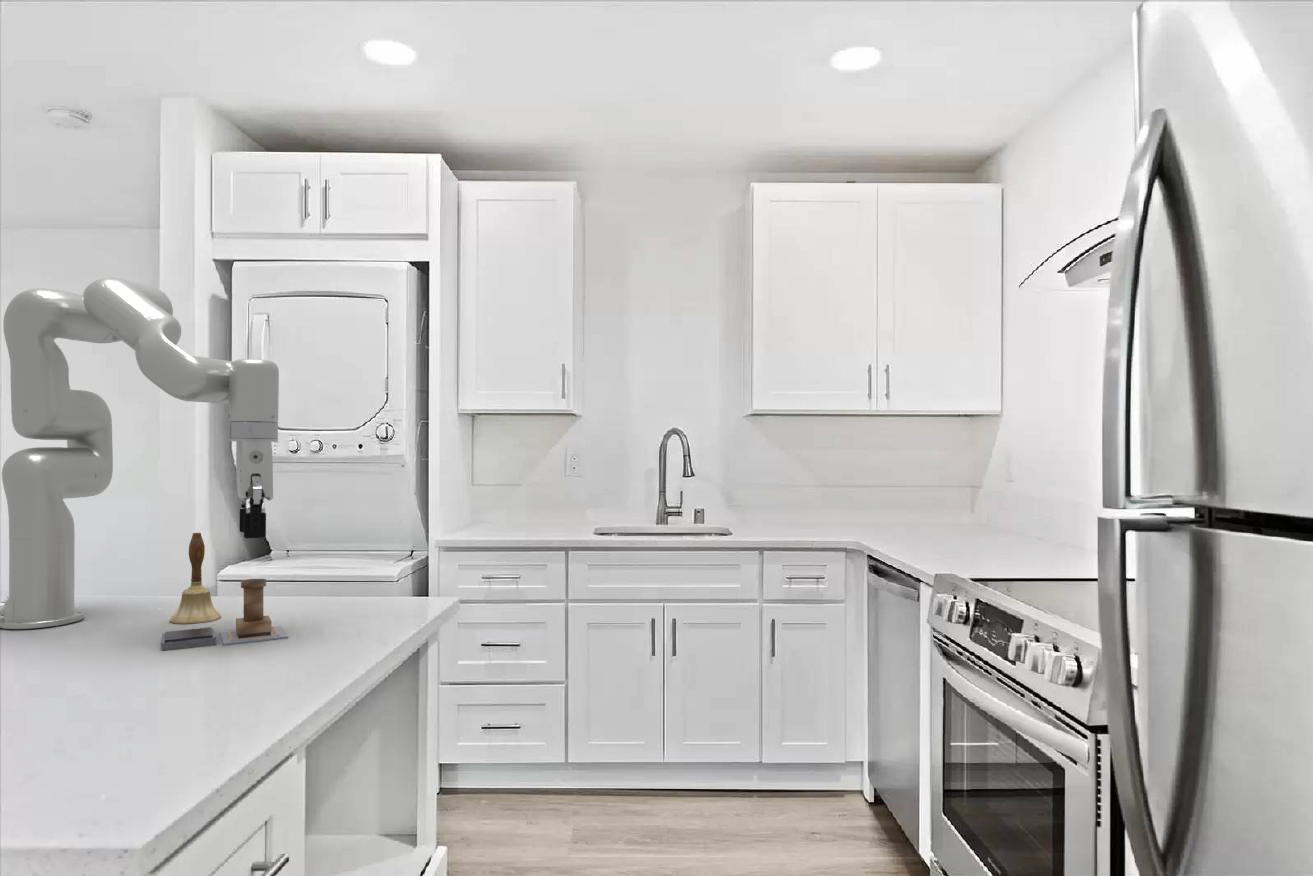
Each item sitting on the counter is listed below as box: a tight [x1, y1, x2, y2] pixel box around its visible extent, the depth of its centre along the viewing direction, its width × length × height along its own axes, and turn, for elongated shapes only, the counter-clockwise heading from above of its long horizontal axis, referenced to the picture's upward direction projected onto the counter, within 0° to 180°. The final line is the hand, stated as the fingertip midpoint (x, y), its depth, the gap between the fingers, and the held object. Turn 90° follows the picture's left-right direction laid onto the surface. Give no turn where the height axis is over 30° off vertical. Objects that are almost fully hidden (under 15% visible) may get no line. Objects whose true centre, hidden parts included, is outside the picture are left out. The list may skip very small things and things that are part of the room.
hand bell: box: [169, 532, 222, 625], centre depth 152 cm, size 8×8×16 cm
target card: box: [219, 625, 289, 646], centre depth 139 cm, size 10×10×1 cm
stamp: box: [235, 578, 272, 639], centre depth 139 cm, size 5×5×9 cm
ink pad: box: [160, 627, 217, 651], centre depth 134 cm, size 8×8×2 cm
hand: (252, 534), depth 139 cm, fingers open, 9 cm apart
